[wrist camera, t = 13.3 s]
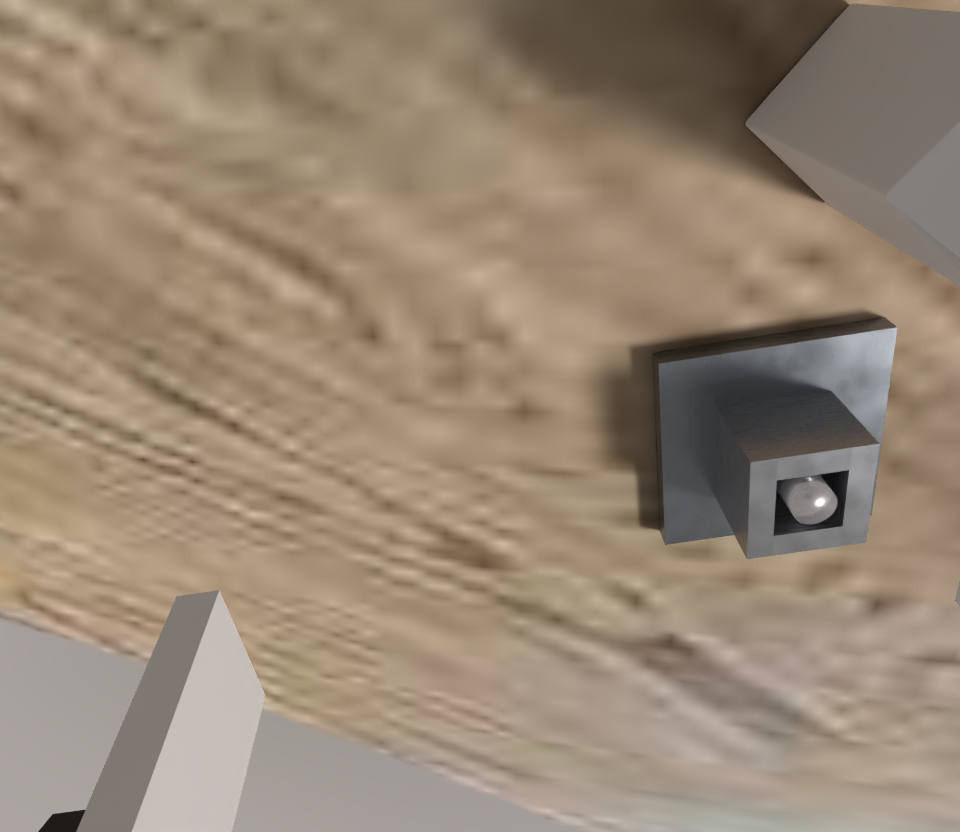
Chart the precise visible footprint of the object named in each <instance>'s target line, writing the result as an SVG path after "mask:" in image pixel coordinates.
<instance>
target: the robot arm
mask: <svg viewBox="0 0 960 832" xmlns="http://www.w3.org/2000/svg"><path fill="white" fill-rule="evenodd" d="M955 601H956V602H957V603H958V604H959V606H960V581H959V586H958V590H957V595H956V599H955ZM264 699H265V694H264V691H263V689H262V687H261V684H260V682H259V680H258V678H257V675H256V673H255V671H254V668H253V666H252V664H251V662H250V659H249V657H248V655H247V652H246V650H245V648H244V646H243V643H242V641H241V639H240V636H239V634H238V632H237V630H236V627H235V625H234V623H233V620H232V618H231V616H230V614H229V611H228V609H227V607H226V604H225V602H224V600H223V598H222V595H221V593H220V591H219V590H218V591H211V592H204V593H197V594H190V595H183V596H177V597H176V599H175V602H174V604H173V606H172V609H171V611H170V613H169V616H168V618H167V620H166V623H165V625H164V627H163V630H162V632H161V634H160V637H159V639H158V641H157V644H156V646H155V648H154V651H153V653H152V655H151V658H150V660H149V662H148V665H147V667H146V670H145V672H144V675H143V677H142V679H141V681H140V684H139V686H138V688H137V691H136V693H135V695H134V698H133V700H132V702H131V705H130V707H129V709H128V712H127V714H126V716H125V719H124V721H123V723H122V726H121V728H120V731H119V733H118V736H117V738H116V740H115V742H114V745H113V747H112V749H111V752H110V754H109V757H108V759H107V761H106V763H105V766H104V768H103V771H102V773H101V775H100V777H99V780H98V782H97V785H96V787H95V789H94V791H93V794H92V796H91V798H90V801H89V803H88V806H87V808H86V810H81V811H73V812H65V813H59V814H53V815H52V816H51V817H50V818H49V820H48V821H47V822H46V823H45V824H44V826H43V827H42V828H41V829H40V830H39V832H232V829H233V824H234V820H235V816H236V812H237V808H238V804H239V800H240V796H241V792H242V788H243V784H244V780H245V776H246V772H247V768H248V764H249V759H250V755H251V752H252V748H253V743H254V739H255V735H256V731H257V727H258V723H259V719H260V715H261V711H262V707H263V703H264Z"/></svg>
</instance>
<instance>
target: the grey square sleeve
mask: <svg viewBox="0 0 960 832" xmlns="http://www.w3.org/2000/svg"><path fill="white" fill-rule="evenodd" d="M879 445H880V443H879V442H878V441H877V440H876V439H875V438H874V437H873V436H872V435H871V434H870V432H869V431H868V430H867V429H866V428H865V427H864V426H863V425H862V424H861V423H860V422H859V420H858V419H857V418H856V417H855V416H854V415H853V414H852V413H851V412H850V411H849V410H848V408H847V407H846V406H845V405H844V404H843V403H842V402H841V401H840V400H839V399H838V398H837V396H836V395H835V394H834V393H833V392H832V391H828V392H822V393H815V394H808V395H801V396H795V397H788V398H781V399H774V400H767V401H761V402H754V403H747V404H740V405H734V406H727V407H720V408H717V447H716V500H717V502H718V504H719V505H720V507H721V509H722V511H723V513H724V515H725V517H726V519H727V521H728V523H729V525H730V527H731V529H732V531H733V533H734V535H735V537H736V539H737V541H738V543H739V545H740V546H741V548H742V550H743V552H744V554H745V556H746V558H747V559H751V558H758V557H765V556H773V555H780V554H787V553H794V552H801V551H808V550H816V549H823V548H830V547H837V546H844V545H851V544H858V543H866V539H867V531H868V524H869V517H870V510H871V503H872V496H873V488H874V481H875V474H876V467H877V460H878V453H879ZM819 474H820V475H821V477H822V478H823V479H824V481H825V482H826V483H827V485H828V486H829V487H830V489H831V490H832V491H833V493H834V494H835V495H836V497H837V507H836V509H835V511H834V513H833V514H832V515H831V516H830V517H829V518H827V519H826V520H824V521H822V522H820V523H816V524H803V523H800V522H799V521H797V520H796V519H795V518H794V516H793V514H792V513H791V511H790V510H789V508H788V507H787V505H786V503H785V502H784V500H783V499H782V497H781V496H780V494H779V493H778V491H777V489H776V486H777V480H784V479H791V478H798V477H805V476H812V475H819Z"/></svg>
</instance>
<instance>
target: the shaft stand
mask: <svg viewBox="0 0 960 832" xmlns="http://www.w3.org/2000/svg"><path fill="white" fill-rule="evenodd" d="M896 333H897V327H896V326H895V325H894V324H892V323H891V322H890V321H889V320H887V319H886V318H885V317H883V318H877V319H870V320H864V321H857V322H851V323H844V324H838V325H831V326H825V327H818V328H812V329H805V330H799V331H792V332H786V333H779V334H773V335H766V336H760V337H753V338H746V339H740V340H733V341H727V342H720V343H714V344H707V345H701V346H694V347H688V348H681V349H675V350H668V351H662V352H655V353H653V375H654V399H655V424H656V448H657V473H658V497H659V522H660V533H661V535H662V538H663V540H664V543H665V545H667V544H674V543H681V542H688V541H695V540H702V539H709V538H716V537H723V536H730V535H734V533H733V531H732V529H731V527H730V525H729V523H728V521H727V519H726V517H725V515H724V513H723V511H722V509H721V507H720V505H719V504H718V502H717V500H716V447H717V408H720V407H727V406H734V405H740V404H747V403H754V402H761V401H767V400H774V399H781V398H788V397H795V396H801V395H808V394H815V393H822V392H828V391H832V392H833V393H834V394H835V395H836V396H837V398H838V399H839V400H840V401H841V402H842V403H843V404H844V405H845V406H846V407H847V408H848V410H849V411H850V412H851V413H852V414H853V415H854V416H855V417H856V418H857V419H858V420H859V422H860V423H861V424H862V425H863V426H864V427H865V428H866V429H867V430H868V431H869V432H870V434H871V435H872V436H873V437H874V438H875V439H876V440H877V441H878V442H879V443H880V445H879V453H878V460H877V467H876V474H875V481H874V488H873V496H872V503H871V510H870V515H872V508H873V501H874V493H875V486H876V479H877V472H878V464H879V457H880V450H881V442H882V435H883V428H884V421H885V413H886V406H887V399H888V392H889V384H890V377H891V370H892V362H893V355H894V348H895V341H896ZM776 489H777V491H778V493H779V494H780V496H781V497H782V499H783V500H784V502H785V503H786V505H787V507H788V508H789V510H790V511H791V513H792V514H793V516H794V518H795V519H796V520H797V521H799V522H800V523H803V524H816V523H820V522H822V521H824V520H826V519H827V518H829V517H830V516H831V515H832V514H833V513H834V511H835V509H836V507H837V497H836V495H835V494H834V493H833V491H832V490H831V489H830V487H829V486H828V485H827V483H826V482H825V481H824V479H823V478H822V477H821V475H820V474H819V475H812V476H805V477H798V478H791V479H784V480H777V486H776Z"/></svg>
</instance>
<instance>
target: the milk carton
mask: <svg viewBox="0 0 960 832" xmlns="http://www.w3.org/2000/svg"><path fill="white" fill-rule="evenodd" d="M745 125H746V126H747V127H748V128H749V129H750V130H751V131H752V132H753V133H754V134H755V135H756V136H757V137H758V138H759V139H760V140H761V141H762V142H763V143H764V144H765V145H766V146H767V147H769V148H770V149H771V150H772V151H773V152H774V153H775V154H776V155H777V156H778V157H779V158H780V159H781V160H782V161H783V162H784V163H785V164H786V165H787V166H788V167H789V168H790V169H791V170H792V171H794V172H795V173H796V174H797V175H798V176H799V177H800V178H801V179H802V180H803V181H804V182H805V183H806V184H807V185H808V186H809V187H810V188H811V189H812V190H813V191H814V192H815V193H816V194H817V195H819V196H820V197H821V198H822V199H823V200H824V201H825V202H826V203H827V204H828V205H829V206H830V207H832V208H833V209H835V210H837V211H838V212H840V213H842V214H843V215H845V216H846V217H848V218H850V219H851V220H853V221H855V222H856V223H858V224H860V225H861V226H863V227H864V228H866V229H868V230H869V231H871V232H873V233H874V234H876V235H877V236H879V237H881V238H882V239H884V240H886V241H887V242H889V243H890V244H892V245H894V246H895V247H897V248H899V249H900V250H902V251H903V252H905V253H907V254H908V255H910V256H912V257H913V258H915V259H916V260H918V261H920V262H921V263H923V264H925V265H926V266H928V267H929V268H931V269H933V270H934V271H936V272H938V273H939V274H941V275H943V276H944V277H946V278H947V279H949V280H951V281H952V282H954V283H956V284H957V285H959V286H960V12H951V11H939V10H927V9H915V8H903V7H891V6H879V5H867V4H851V5H849V6H848V7H847V8H846V9H845V10H844V11H843V13H842V14H841V15H840V16H839V17H838V18H837V19H836V20H835V21H834V23H833V24H832V25H831V26H830V27H829V28H828V29H827V30H826V32H825V33H824V34H823V35H822V36H821V37H820V38H819V39H818V41H817V42H816V43H815V44H814V45H813V46H812V47H811V48H810V50H809V51H808V52H807V53H806V54H805V55H804V56H803V57H802V59H801V60H800V61H799V62H798V63H797V64H796V65H795V66H794V68H793V69H792V70H791V71H790V72H789V73H788V74H787V75H786V77H785V78H784V79H783V80H782V81H781V82H780V83H779V84H778V85H777V87H776V88H775V89H774V90H773V91H772V92H771V93H770V94H769V96H768V97H767V98H766V99H765V100H764V101H763V102H762V103H761V105H760V106H759V107H758V108H757V109H756V110H755V111H754V113H753V114H752V115H751V116H750V117H749V118H748V120H747V121H746V124H745Z"/></svg>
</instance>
